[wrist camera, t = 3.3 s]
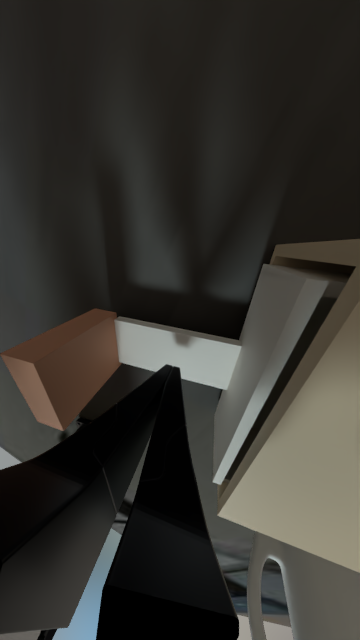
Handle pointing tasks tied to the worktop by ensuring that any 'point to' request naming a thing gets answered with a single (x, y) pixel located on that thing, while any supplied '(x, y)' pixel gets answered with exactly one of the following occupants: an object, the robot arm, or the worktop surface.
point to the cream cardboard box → (311, 430)
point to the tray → (185, 357)
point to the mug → (306, 592)
